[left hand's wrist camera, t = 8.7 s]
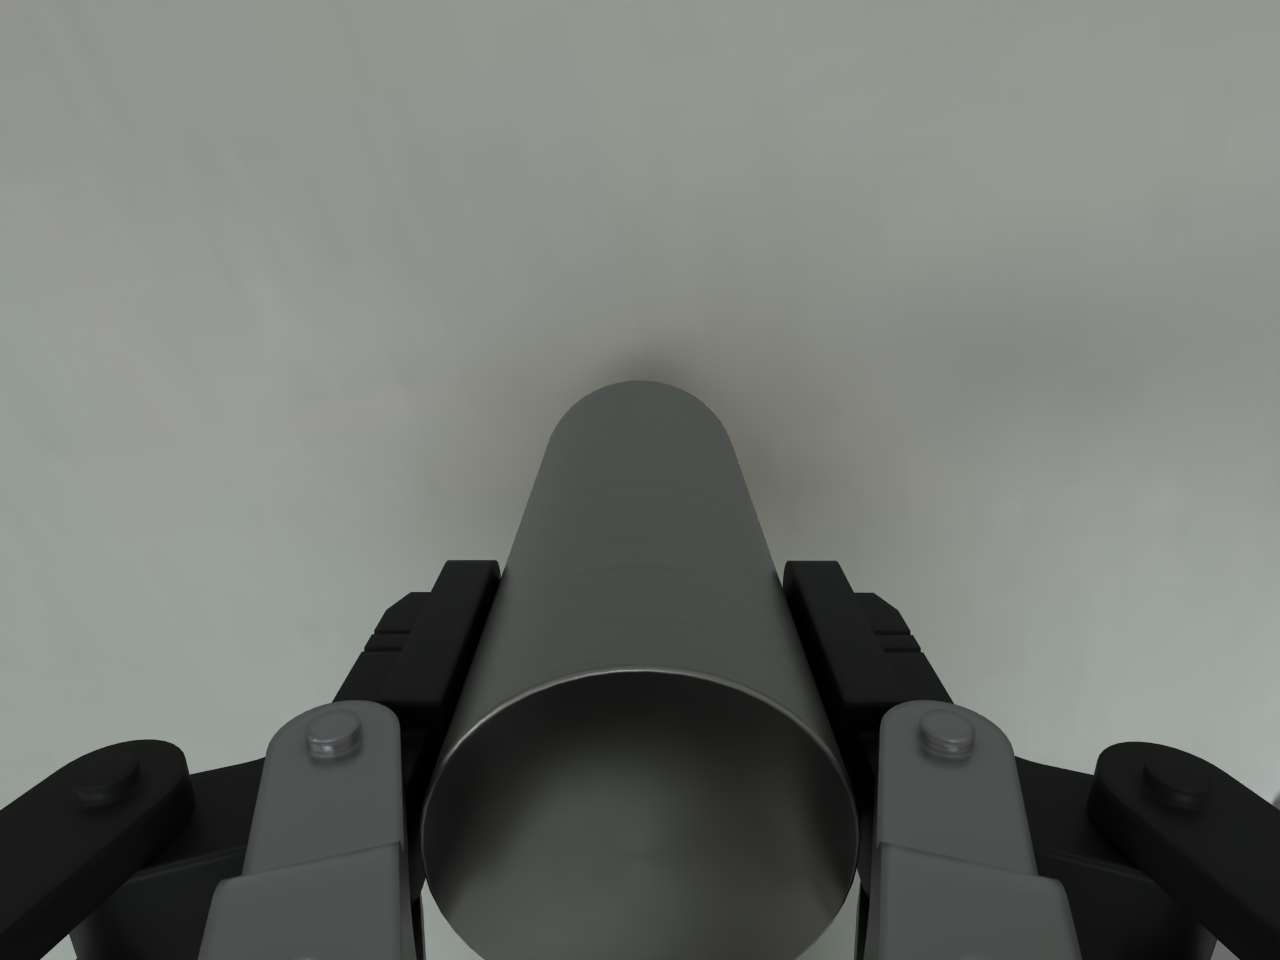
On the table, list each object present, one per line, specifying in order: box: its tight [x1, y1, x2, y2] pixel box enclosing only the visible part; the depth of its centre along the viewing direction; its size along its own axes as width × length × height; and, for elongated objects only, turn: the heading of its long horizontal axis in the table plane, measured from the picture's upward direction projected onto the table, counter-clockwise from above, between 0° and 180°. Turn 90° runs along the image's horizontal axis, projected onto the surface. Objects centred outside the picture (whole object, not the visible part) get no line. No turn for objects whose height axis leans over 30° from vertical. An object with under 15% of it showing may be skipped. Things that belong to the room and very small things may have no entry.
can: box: [419, 381, 861, 960], centre depth 13 cm, size 4×4×11 cm
